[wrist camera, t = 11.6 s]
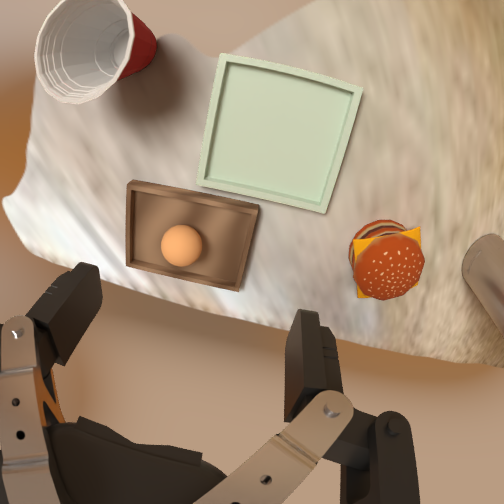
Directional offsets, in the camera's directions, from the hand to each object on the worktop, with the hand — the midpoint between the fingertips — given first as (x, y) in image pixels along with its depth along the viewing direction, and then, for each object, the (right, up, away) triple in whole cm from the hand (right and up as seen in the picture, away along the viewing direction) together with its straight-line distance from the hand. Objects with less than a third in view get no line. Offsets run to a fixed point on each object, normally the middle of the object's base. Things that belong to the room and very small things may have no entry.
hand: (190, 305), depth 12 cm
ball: (-6, +4, +27) cm, 28 cm away
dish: (+5, +15, +20) cm, 26 cm away
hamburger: (+19, +3, +27) cm, 34 cm away
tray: (-6, +4, +28) cm, 29 cm away
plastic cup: (-11, +25, +16) cm, 32 cm away
